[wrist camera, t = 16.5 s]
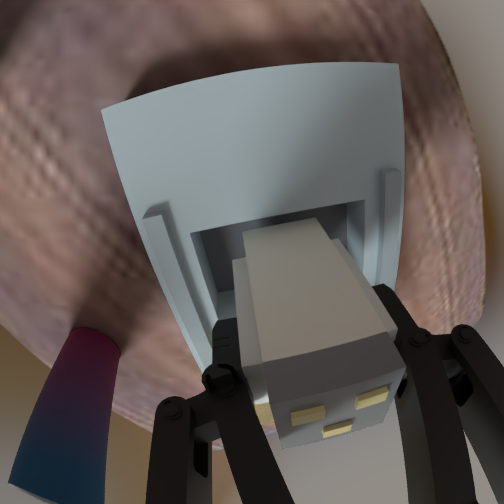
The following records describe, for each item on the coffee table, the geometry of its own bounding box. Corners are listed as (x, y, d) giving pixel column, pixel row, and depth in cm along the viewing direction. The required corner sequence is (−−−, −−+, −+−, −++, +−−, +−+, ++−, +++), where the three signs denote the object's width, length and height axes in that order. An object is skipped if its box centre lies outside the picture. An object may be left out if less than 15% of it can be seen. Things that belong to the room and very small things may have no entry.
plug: (242, 231, 16) (270, 410, 7) (315, 217, 16) (409, 371, 7) (254, 289, 18) (283, 453, 9) (319, 276, 18) (384, 426, 9)
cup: (144, 361, 23) (125, 525, 10) (95, 375, 24) (67, 511, 11) (93, 309, 20) (36, 494, 7) (47, 331, 21) (-6, 476, 8)
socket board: (121, 105, 13) (96, 110, 10) (370, 65, 13) (405, 63, 10) (209, 358, 24) (209, 393, 20) (369, 323, 23) (385, 353, 20)
